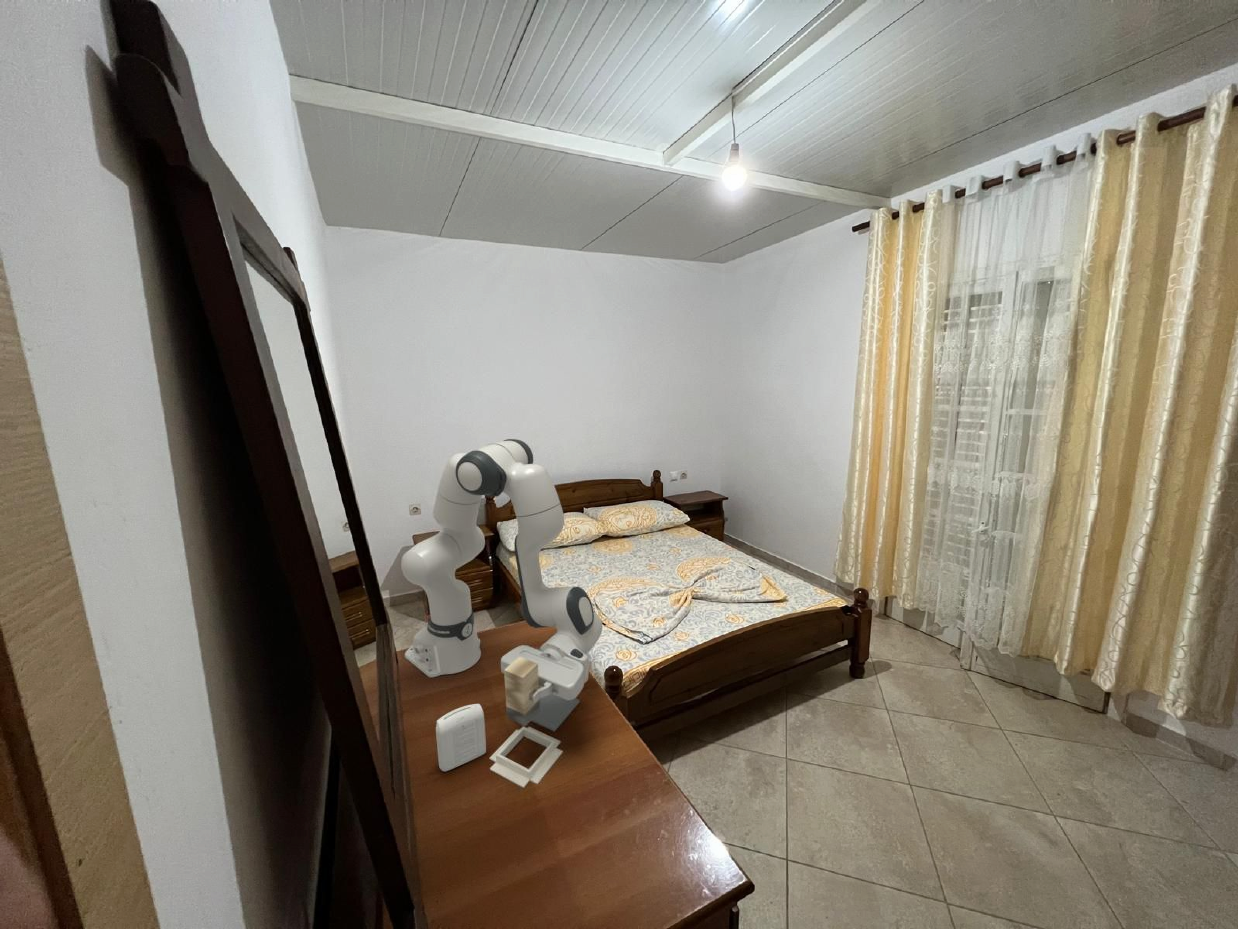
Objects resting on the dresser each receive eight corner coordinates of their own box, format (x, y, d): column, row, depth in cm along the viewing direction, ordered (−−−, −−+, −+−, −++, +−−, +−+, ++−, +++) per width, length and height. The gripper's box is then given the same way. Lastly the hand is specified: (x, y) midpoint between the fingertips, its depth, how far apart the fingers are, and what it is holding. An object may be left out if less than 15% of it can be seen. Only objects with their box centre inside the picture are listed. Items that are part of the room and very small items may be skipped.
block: (506, 718, 102) (504, 670, 99) (521, 703, 106) (519, 656, 103) (525, 726, 99) (522, 677, 96) (539, 711, 104) (537, 663, 101)
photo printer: (483, 740, 109) (479, 695, 106) (489, 753, 106) (485, 707, 103) (437, 761, 104) (431, 714, 101) (441, 776, 100) (436, 727, 97)
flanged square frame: (483, 766, 103) (482, 758, 102) (522, 724, 114) (521, 717, 113) (531, 792, 97) (530, 784, 96) (567, 745, 108) (567, 738, 107)
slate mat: (518, 715, 117) (518, 713, 117) (545, 687, 126) (545, 686, 126) (554, 731, 112) (554, 730, 112) (579, 702, 121) (579, 700, 121)
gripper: (522, 632, 116) (482, 665, 104) (593, 658, 107) (558, 697, 95) (523, 655, 118) (483, 689, 106) (593, 682, 108) (558, 723, 97)
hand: (519, 693), depth 100 cm, fingers closed on block, 5 cm apart
